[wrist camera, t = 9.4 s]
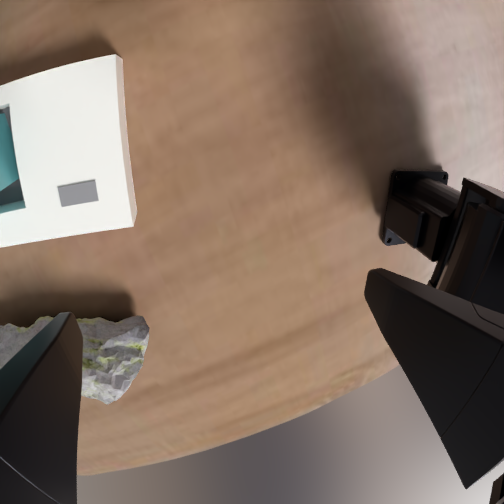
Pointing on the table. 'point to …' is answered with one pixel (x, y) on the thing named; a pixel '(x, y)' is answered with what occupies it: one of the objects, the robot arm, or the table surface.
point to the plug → (7, 155)
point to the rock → (94, 352)
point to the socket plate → (68, 153)
